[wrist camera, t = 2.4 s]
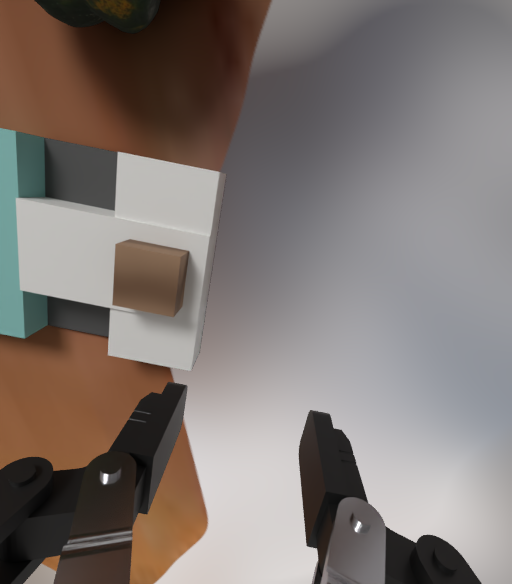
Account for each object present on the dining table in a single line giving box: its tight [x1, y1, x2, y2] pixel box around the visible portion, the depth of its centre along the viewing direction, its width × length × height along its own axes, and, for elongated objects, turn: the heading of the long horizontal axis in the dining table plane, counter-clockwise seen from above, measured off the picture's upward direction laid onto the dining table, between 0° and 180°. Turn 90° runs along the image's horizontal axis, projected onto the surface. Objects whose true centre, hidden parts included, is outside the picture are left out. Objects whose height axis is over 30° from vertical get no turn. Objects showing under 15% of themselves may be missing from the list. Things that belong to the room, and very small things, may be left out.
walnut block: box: [112, 239, 189, 317], centre depth 26 cm, size 5×5×2 cm
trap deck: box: [0, 128, 226, 371], centre depth 29 cm, size 18×25×4 cm
